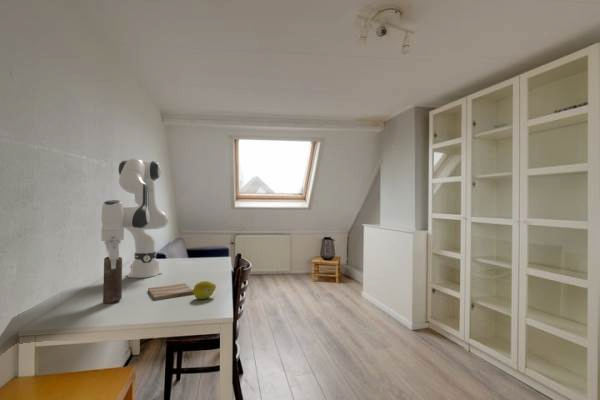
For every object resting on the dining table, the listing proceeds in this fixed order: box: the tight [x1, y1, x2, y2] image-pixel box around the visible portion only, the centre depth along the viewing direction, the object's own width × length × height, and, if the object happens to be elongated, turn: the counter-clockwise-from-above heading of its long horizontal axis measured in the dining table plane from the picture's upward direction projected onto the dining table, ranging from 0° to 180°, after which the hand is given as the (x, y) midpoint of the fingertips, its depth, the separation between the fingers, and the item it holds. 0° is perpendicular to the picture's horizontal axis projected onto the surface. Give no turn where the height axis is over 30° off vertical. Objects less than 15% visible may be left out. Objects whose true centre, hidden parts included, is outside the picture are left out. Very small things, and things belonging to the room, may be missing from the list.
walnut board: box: [147, 282, 194, 301], centre depth 162 cm, size 18×18×2 cm
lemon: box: [192, 280, 217, 300], centre depth 152 cm, size 11×8×8 cm
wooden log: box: [102, 256, 123, 304], centre depth 148 cm, size 8×7×20 cm
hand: (112, 266), depth 148 cm, fingers open, 8 cm apart
